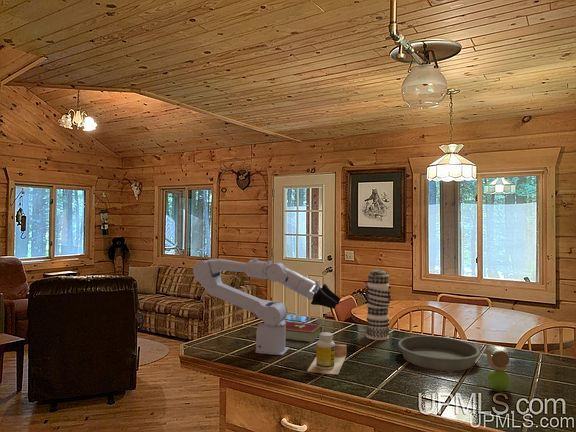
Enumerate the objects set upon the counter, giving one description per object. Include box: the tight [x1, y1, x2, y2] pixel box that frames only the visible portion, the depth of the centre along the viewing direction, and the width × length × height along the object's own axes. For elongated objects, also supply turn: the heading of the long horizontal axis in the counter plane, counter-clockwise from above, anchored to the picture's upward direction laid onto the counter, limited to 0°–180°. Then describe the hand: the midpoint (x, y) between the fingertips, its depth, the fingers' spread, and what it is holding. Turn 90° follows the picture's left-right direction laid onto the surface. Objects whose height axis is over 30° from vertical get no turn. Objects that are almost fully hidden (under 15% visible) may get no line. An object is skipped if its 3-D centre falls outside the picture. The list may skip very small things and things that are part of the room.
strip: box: [306, 343, 348, 376], centre depth 133 cm, size 9×20×3 cm, turn 165°
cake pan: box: [397, 335, 481, 372], centre depth 138 cm, size 25×25×4 cm
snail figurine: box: [484, 343, 512, 393], centre depth 113 cm, size 5×6×12 cm
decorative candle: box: [365, 269, 392, 341], centre depth 164 cm, size 9×9×25 cm
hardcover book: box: [285, 320, 323, 342], centre depth 165 cm, size 12×21×4 cm, turn 69°
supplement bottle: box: [315, 331, 336, 370], centre depth 129 cm, size 5×5×10 cm
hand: (337, 303), depth 139 cm, fingers open, 7 cm apart
